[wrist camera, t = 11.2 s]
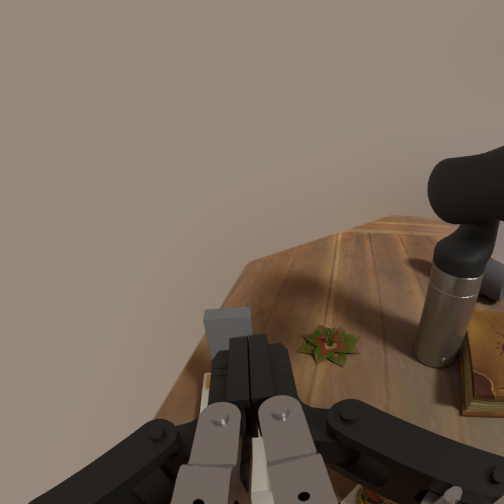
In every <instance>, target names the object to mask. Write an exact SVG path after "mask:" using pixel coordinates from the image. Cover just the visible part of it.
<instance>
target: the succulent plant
mask: <svg viewBox="0 0 504 504" xmlns="http://www.w3.org/2000/svg"><path fill="white" fill-rule="evenodd" d="M336 323H337V322H336ZM328 324H329V323H328ZM340 327H341V326H339V328H335V327H334V328H333V329H331V330H330V328H326V327H323V326H322V325H321V326H320V325H319V327H318V329H317V331H316V333H311V334H308V335H307V336H303V337H305V338H306V339H307V340H308V341H309V343H307V344H305V345H304V346H303V347H302V348H301V349H300V350H299V351H297V352H305V353H310V354H315V360H316V361H317V362H316V364H318V363H319V362H321V361H322V360H325V359H326V358H328V359H330V360H331V361H333V362H335V363H337V364H339V365H341V366H342V367H343V365H344V361H345V360H346V353H359V352H358V350H357V349H356V347H355V346H354V343H355V342H356V341H357V340H358V339H359V338H360V337H359V336H354V335H350V334H347V335H345V331H344V330H343V329H342V327H341V328H340ZM323 333H324V334H325V335H326V336H325V335H324V334H323ZM342 340H344V341H342ZM332 341H333V342H332ZM325 342H329V345H331V346H332V345H333V343H336V345H337V348H334V349H330V350H327V349H326V348H325V347H324V344H323V343H325ZM314 346H319V347H317V348H316V349H315V350H309V349H312V348H313V347H314ZM335 352H339V353H338V356H337V357H335V356H333V354H334V353H335ZM359 354H360V353H359Z"/></svg>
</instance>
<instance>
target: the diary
mask: <svg viewBox="0 0 504 504" xmlns="http://www.w3.org/2000/svg"><path fill="white" fill-rule="evenodd" d="M459 359H460V372H461V399H462V414H461V416H463V417H488V418H504V312H495V311H487V310H478V309H474V310H473V314H472V317H471V320H470V323H469V325H468V328H467V331H466V334H465V337H464V339H463V342H462V344H461V347H460V349H459Z"/></svg>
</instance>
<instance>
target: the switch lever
mask: <svg viewBox="0 0 504 504" xmlns="http://www.w3.org/2000/svg"><path fill="white" fill-rule="evenodd" d="M203 321H204V326H205V331H206V335H207V340H208V344H209V349H210V353H211V357H212V360H213V358H214V357H215V355H216V354H217V352H218V351H222V350H229V339H230V338H231V337H239V336H248V340H249V335H253V328H252V319H251V309H250V306H246V307H235V308H222V309H209V310H205V313H204V319H203Z"/></svg>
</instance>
